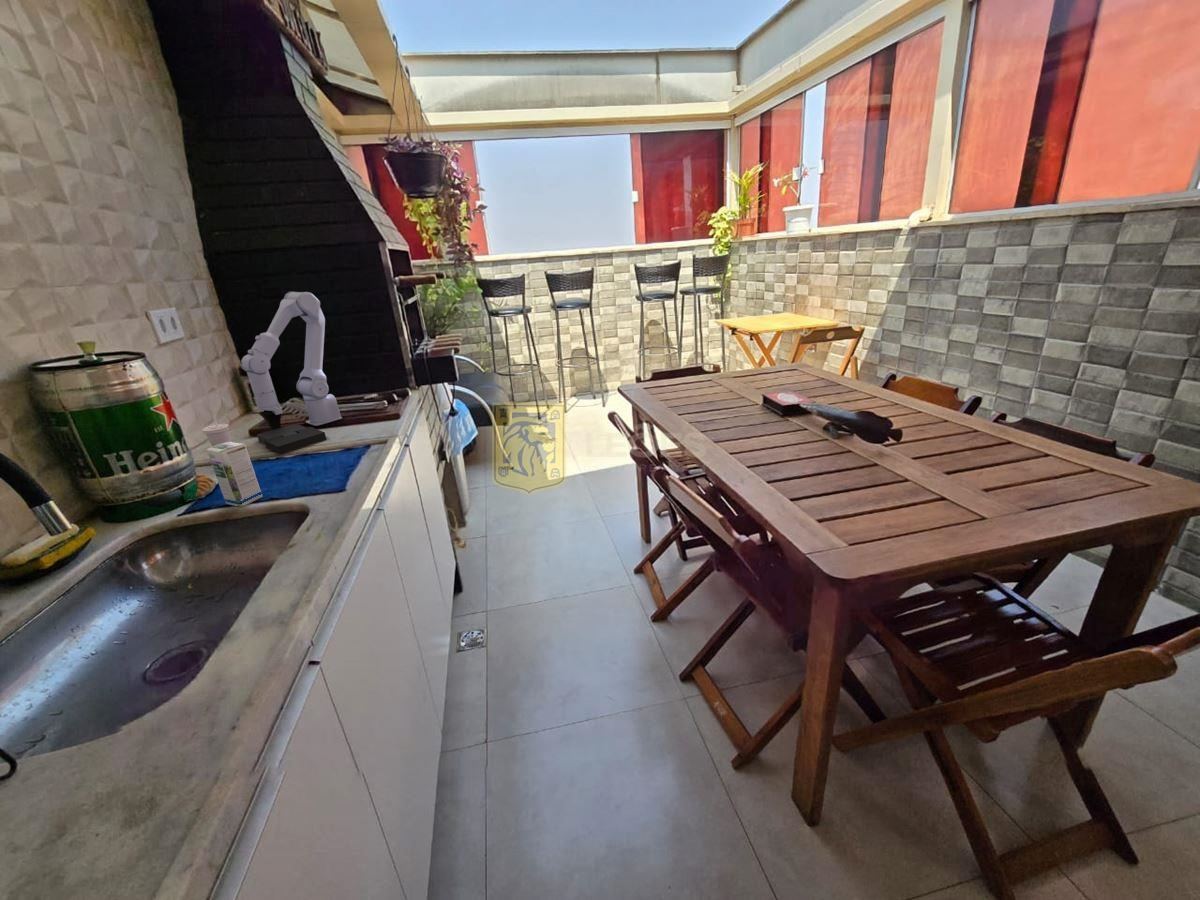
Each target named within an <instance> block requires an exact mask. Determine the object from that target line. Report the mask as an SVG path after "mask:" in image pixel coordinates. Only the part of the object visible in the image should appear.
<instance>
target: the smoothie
mask: <svg viewBox="0 0 1200 900" xmlns="http://www.w3.org/2000/svg"><path fill="white" fill-rule="evenodd" d="M210 414H211V417H212V419H213V422H214V424H211V425H209V426H206V427H204V428H202V434H204V435H205V436H206V438H207V440H208V441H209V443H210V446H211V447H213V446H216V445H219V444H222V443H226V442H232V437H231V432H230V429H231V426H230V425H229V423H218V421H217V418H216V416H215V414H214V412H211V413H210Z"/></svg>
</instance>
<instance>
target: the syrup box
mask: <svg viewBox="0 0 1200 900" xmlns="http://www.w3.org/2000/svg"><path fill="white" fill-rule="evenodd" d="M206 453H207V456H208V458H209V461H210V464H211V467H212V469H213V472H214V475H215V478H216V480H217V483H218V485H219V488H220V491H221V494H222V497H223V499H224V501H225V499H226V500H231V501H236V502H240V501H243V500H244V499H247V498H249V497H251V496H253V495H255V494H257V493H259V492H261V493H262V491H261V487H260V484H259V482H258V478H257V476H256V472H255V470H254V467H253V463H252V460H251V458H250V454H249V452H248V449H247V446H246V444H245V443H240V442H233V441H231V442H226V443H222V444H219V445H216V446H213V447H212V446H211V447H208V448H207V449H206ZM261 498H263V493H262V494H261V495H258V496H256V497H254V498H252V499H250V500H248V501H246V502H244V503H242V504H235V503H231V502H227V501H225V504H226V505H230V506H233V507H239V508H243V507H245V506H247V505H249V504H251V503H253V502H256V501H258V500H259V499H261Z"/></svg>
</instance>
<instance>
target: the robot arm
mask: <svg viewBox="0 0 1200 900" xmlns="http://www.w3.org/2000/svg"><path fill="white" fill-rule="evenodd" d="M298 316H299V317H300V318H301V319H302V320H303V321H304V322H305V323H306V325H305V343H304V344H305V345H304V361H303V367H304V368H303V369H302V370H301V372H300V373H299V378H298V380H297V382H296V390H297V392H298V393H299V394H300V395H302V398H303V402H304V405H305V409H306V412H307V415H308V419H307V420H306V421H305V423H306V424H309V425H311V426H314V427H319V426H323V425H325V424H328V423H333V422H335V421H339V420H342V419H343V417H342V416H341V412H340V408H339V404H338V401H337V399H336V397H335V395H333V394H332V393H329V391H330V389H329V385H328V382H327V375H326V374H325V373H324V371H323V362H324V361H323V360H324V349H325V348H324V347H325V345H324V344H325V332H326V331H325V329H326V328H325V327H326V318H325V315H324V313H323V310H322V308H321V301H320V300H319V299H318V298H317V297H316V296H315V294H313V293H312V292H309V291H288V292H287V293H286V294H285V295H284V297H283V299H281V301H280V303H279V307H278V309H277V310H276V313H275V315H274V316H273V318H272V321H271V323H270V324H269V327H268V328H267V330H266V331H265V332H261V333H260V334H259V335H255V338H254V339H255V342H254V343H253V345H252V347H251V348H250V349H248V350H247V354H246V355H243V357H242V359H241V360H240V361H241V364H240V367H241V369H242V370H244V371H245V372H246V374H247V378H248V381H249V384H250V386H251V390H252V392H253V396H254V399H255V402H256V407H253V409H254V411H259V413H258V415H259V416H261V417H262V418H263V420H264V421H265V422H266V424H267V425H268V427H269V428H270V431H271V430H275V429H278V428H282V424H281V421H282V415H283V414H284V412H283V408H282V407H281V404H280V402H279V400H278V397H277V393H276V390H275V387H274V384H273V380H272V377H271V375H270V371H269V370H270V369H271V365H272V364H271V360H272V358H273V356H274V355H275V353H276V351H277V350H278V347H279V346H280V343H281V342H280V339H279V338H280V336H281V335H282V333H283V332H284V331H285V329H286V327H287V326H288V324H289V323H290V321H292V319H294V318H296V317H298ZM328 393H329V394H328Z"/></svg>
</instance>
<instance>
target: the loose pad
mask: <svg viewBox="0 0 1200 900" xmlns="http://www.w3.org/2000/svg"><path fill="white" fill-rule="evenodd" d="M304 428H307V427H306V426H303V425H301V424H298V423H293V424H289V425H286V426H281V428H278V429H275V430H271V429H270V430H268V431H264V432H261V433H257V434H256V436H257V439H258V442H259V443H261V444H263V445H265V442H264V440H267V439H270V438H273V437H277V436H281V437H283V438H284V437H287V436H290V435H294V434H297V432H296V431H297V430H301V429H304Z"/></svg>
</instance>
